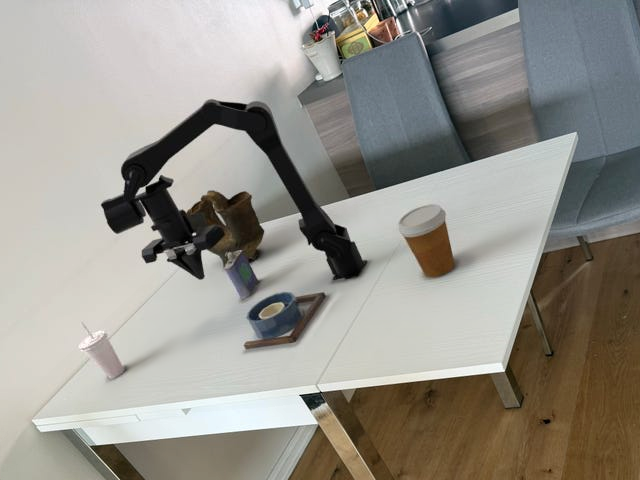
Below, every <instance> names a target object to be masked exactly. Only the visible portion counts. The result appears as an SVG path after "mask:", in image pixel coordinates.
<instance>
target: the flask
mask: <svg viewBox="0 0 640 480" xmlns="http://www.w3.org/2000/svg"><path fill="white" fill-rule="evenodd" d="M227 253H228V252H227ZM227 253H226V254H225V256H226V255H227V256H228V259H229V260H228V262H227V264H226V266H225V268H224V270H225V272H226V274H227V276H228V277H229V279H230V281H231V283H232V284H233V285H232V286H234V288H235V290H236V292H237V294H238V296H239V298H240V299H241V300H246V299H248V298H249V297H250V296H251V294H252V291H253V289H254V287H255V286H256V285H258V284H259V283H260V281H259V279H258V277H257V276H256V275H257V274H256V273H255V272H254V270H253V268H252V266H251V264H250V261H249V260H247V258H246V256H245V254H244V252H243V250H239V251H236V252H234V254H232V253H233V252H232V253H231V252H229V253H228V254H227Z"/></svg>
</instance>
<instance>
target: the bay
mask: <svg viewBox="0 0 640 480" xmlns="http://www.w3.org/2000/svg"><path fill="white" fill-rule="evenodd" d="M295 298H296V300H297V302H298V304H305V303H310V302H311V304H310V305H309V307H308V308H307V310H306V311H305V312H304V313H303V317H302V318H301V320H300V321H299V323H298V324H297V325H296V326H295V327H293V330H292V331H291V333H290V334H289V335H283V336H282V335H281V336H277V337H274V338H269V339H256V340H249V341H245V342H244V344H243V347H244V348H245V350H250V349H258V348H264V347H265V348H266V347H271V346H272V347H273V346H281V345H286V344H294V343H295V342H296V341H297V340H298V338H299V337H300V334H302V332H303V331H304V330H305V328H306V326H307V325H308V323H309V322H310V320H311V319H312V317H313V316H314V314H315V313H316V311H317V310H318V309H319V307H320V306H321V304H322V303H323V301H324V299H325V298H326V294H325V292H324V291H321V292H317V293H310V294H304V295H300V296H295Z"/></svg>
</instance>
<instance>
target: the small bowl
mask: <svg viewBox="0 0 640 480" xmlns="http://www.w3.org/2000/svg"><path fill="white" fill-rule="evenodd" d="M285 308H286V307H285V305H284V304H283V303H282V302H279V303H274V304H271V305H269V306H268V307H266V308H264V309H263V310H262V311H261V313H260V314H259V317H260V319H261V320H264V319H267V318H269V317H272V316H274V315H276V314H277V313H279V312H281V311H282V310H283V309H285Z"/></svg>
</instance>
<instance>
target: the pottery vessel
mask: <svg viewBox="0 0 640 480" xmlns="http://www.w3.org/2000/svg"><path fill="white" fill-rule="evenodd" d="M252 198H253V195H252V194H250V193H249V192H248V191H246V190H244V191H240V192H238V193H236V194H234V195H232V196H231V197H230V198H227V197H226V196H225V195H224V194H222V193H221V192H219V191H217V190H213V189H211V190H208V191H207V192H206V194H202V195H201V198H200V200H199V201H197V202H195V203H194V204H193V205H192V206H191V208H188V209H187V211H186V213H187V215H190V214H195V213H200V212H203V213H204V217H205V220H206V223H207V226H211V225H215V224H217V225H219V226H221V227H222V229H223V231H224V233H225V236H224V237H223V238H222V239H221V240H220V241H219V242H218V243H217V244H216V245H215V246H214V247H212V248H211V249H207V250H206V251H208V252H209V253H212V254H214V255H216V256H219V258H220V259H221V261H222V267H223V268H224V269H225V266H226V264H227V262H228V260H229V259H228V256H227V255H226V256H225V254H226V253H227V252H228V253H229V252H231V253H232V252H233V253H232V254H234V252H236V251H239V250H243V252H244V254H245V256H246V258H247V260H248V261H249V260H250V259H252V260H256V258H257V257H258V256H259V255H261V250H260V249H258V248H259V246H260V245H261V243H262V241H263V238H264V235H265V229H264V228H263V226H262V225H261V224H260V221H259V218H258V215H257V213H256V211H255V209H254V207H253V204H252ZM219 215H220V217H221V218H222V220H223V221H222V220H221V218H220V217H219ZM203 228H204V227H199V228H197V229H198V230H197V231H196V232H195V233H194V234H195V235H196V234H197V233H198V232H199V231H200V230H202V229H203ZM228 253H227V254H228Z"/></svg>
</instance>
